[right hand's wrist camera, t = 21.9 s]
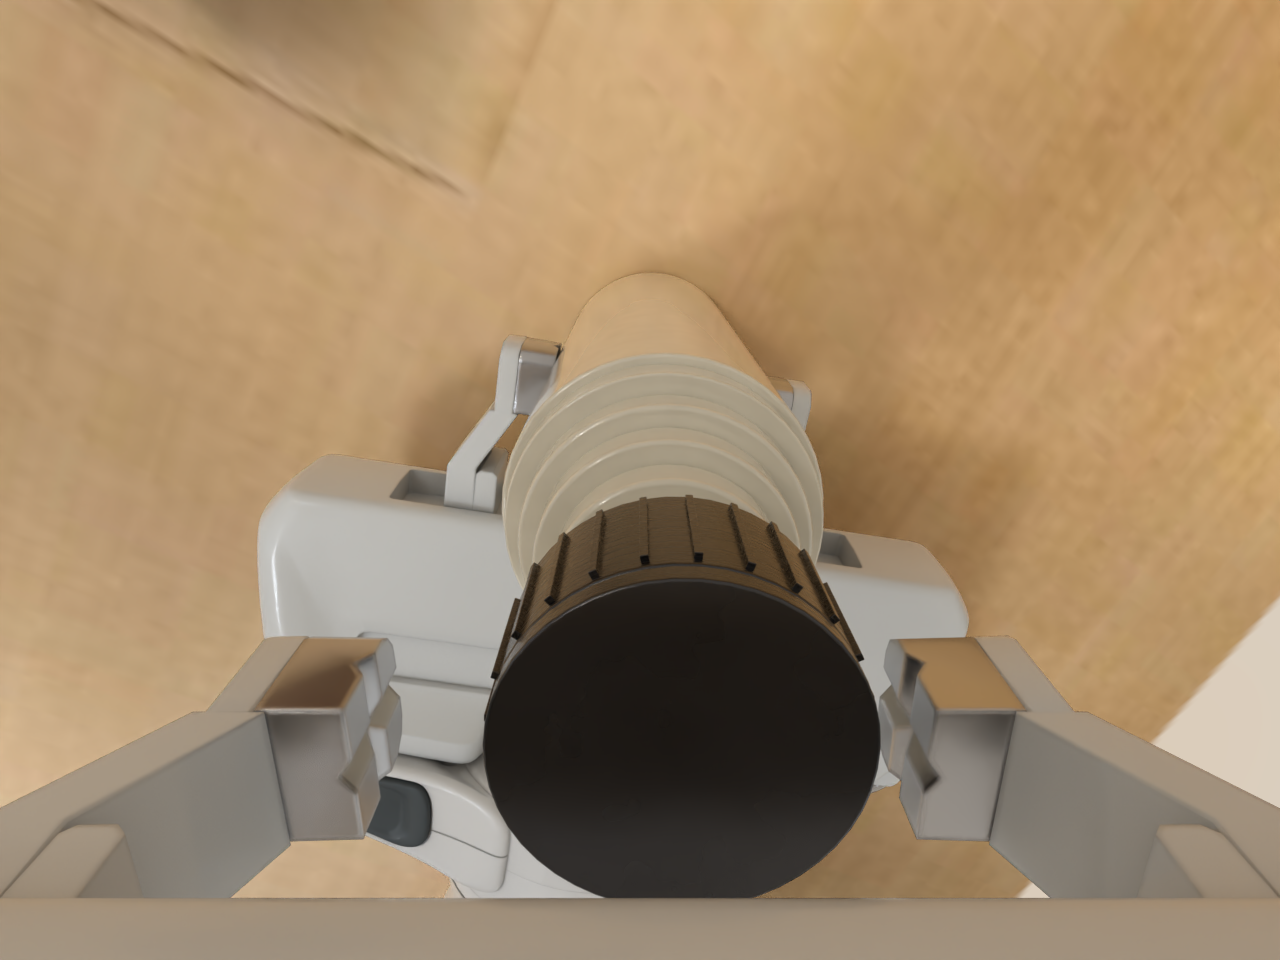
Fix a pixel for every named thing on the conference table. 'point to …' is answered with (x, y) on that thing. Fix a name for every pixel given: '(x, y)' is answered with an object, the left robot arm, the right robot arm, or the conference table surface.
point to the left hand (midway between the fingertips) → (657, 361)
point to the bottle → (656, 423)
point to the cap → (679, 707)
